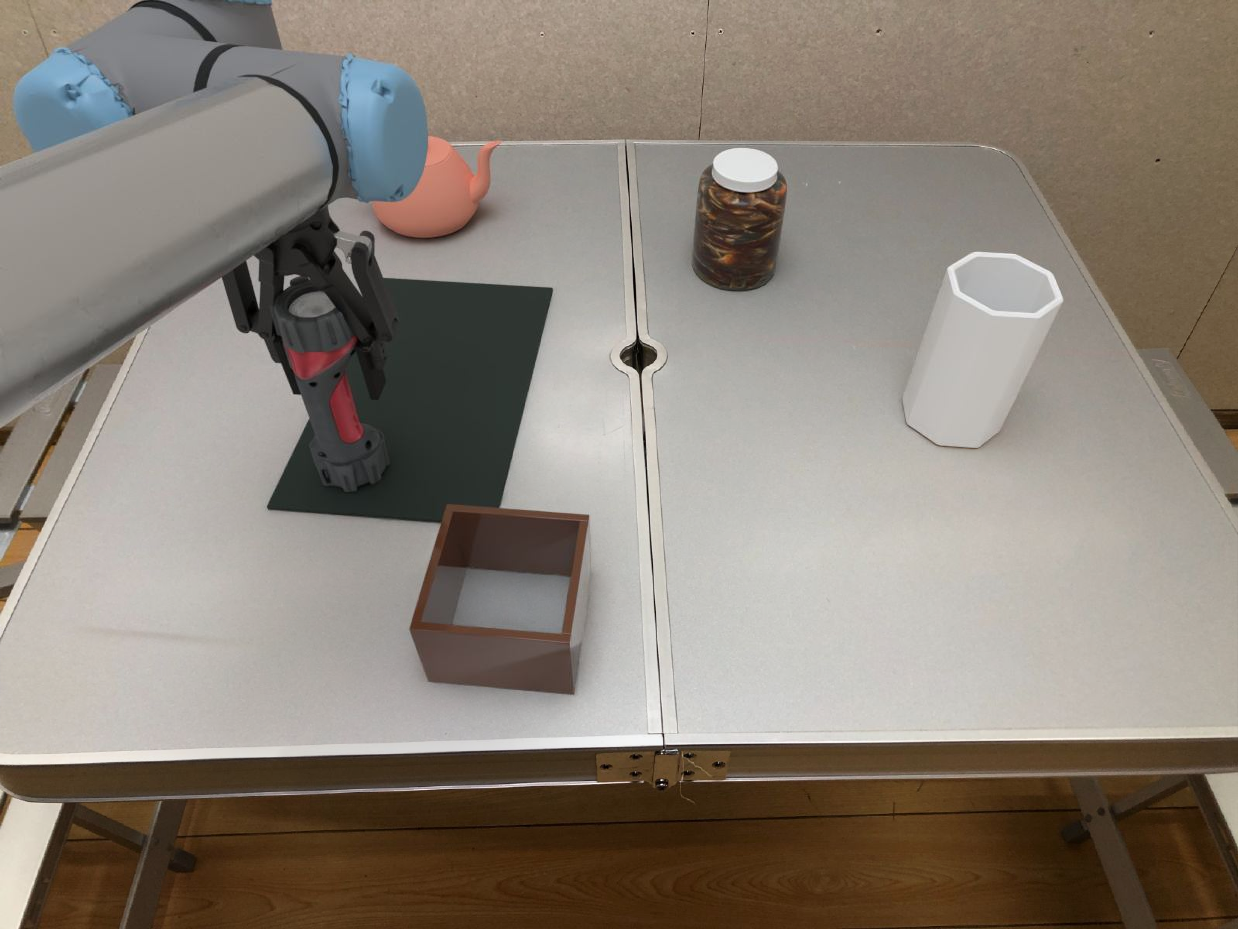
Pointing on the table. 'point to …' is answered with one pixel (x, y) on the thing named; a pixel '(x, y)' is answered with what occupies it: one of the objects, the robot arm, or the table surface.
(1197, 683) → the table surface
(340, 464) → the flashlight
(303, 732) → the table surface
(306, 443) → the mat
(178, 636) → the table surface
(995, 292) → the cup
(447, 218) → the teapot
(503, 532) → the brown open box
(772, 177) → the jar
